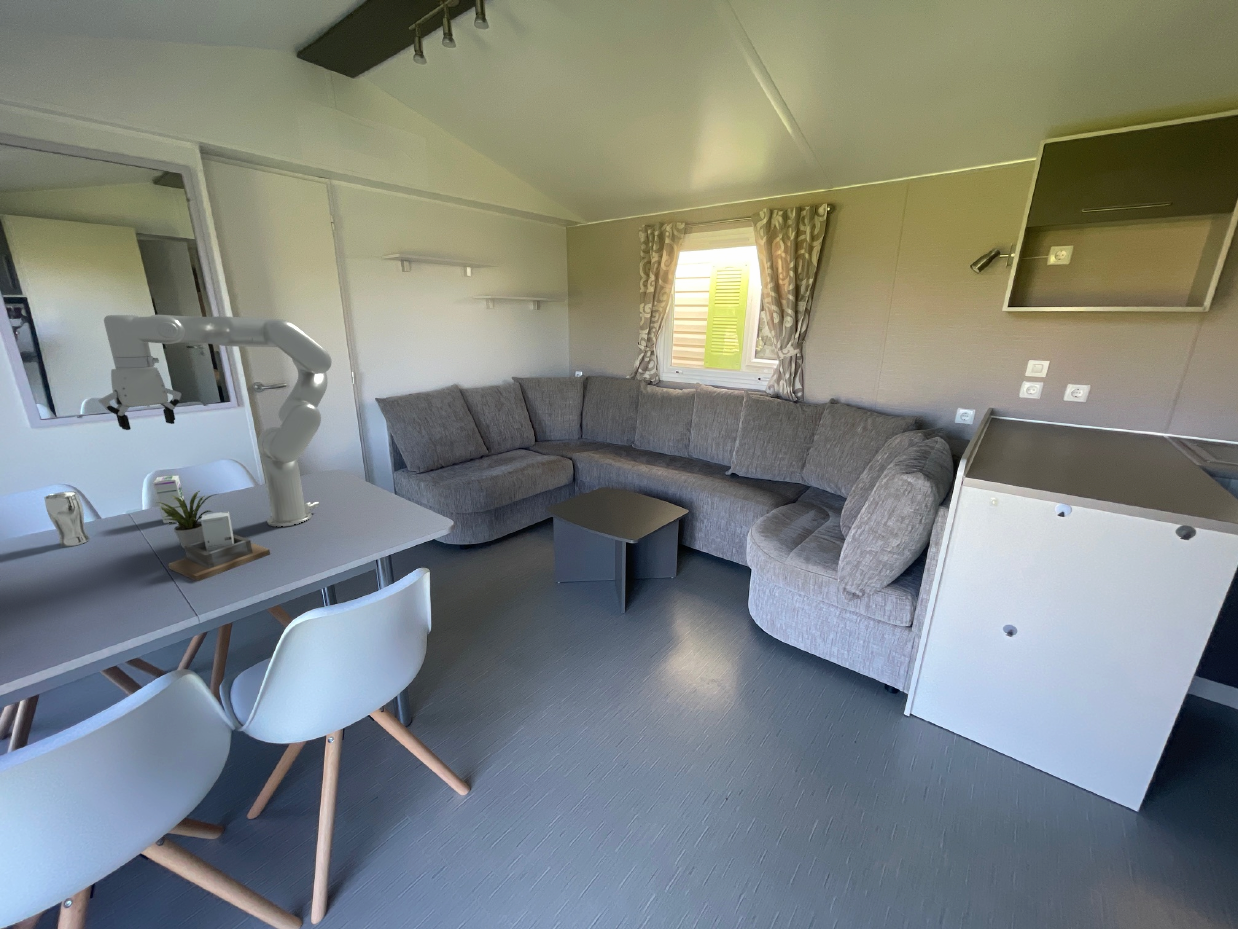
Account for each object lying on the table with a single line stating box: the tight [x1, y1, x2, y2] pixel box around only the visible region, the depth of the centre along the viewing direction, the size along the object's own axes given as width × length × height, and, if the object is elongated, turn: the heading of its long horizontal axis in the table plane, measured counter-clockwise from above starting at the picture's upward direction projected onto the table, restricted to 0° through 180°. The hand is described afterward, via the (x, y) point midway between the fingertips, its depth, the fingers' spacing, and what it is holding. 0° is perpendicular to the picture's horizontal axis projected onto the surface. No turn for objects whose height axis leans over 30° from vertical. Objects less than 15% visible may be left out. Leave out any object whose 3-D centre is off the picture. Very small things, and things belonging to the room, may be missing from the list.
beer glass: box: [43, 491, 91, 548], centre depth 146 cm, size 7×7×15 cm
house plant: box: [156, 490, 218, 550], centre depth 148 cm, size 14×14×16 cm
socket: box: [168, 533, 271, 582], centre depth 139 cm, size 18×14×6 cm
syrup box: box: [152, 474, 186, 524], centre depth 165 cm, size 6×6×14 cm
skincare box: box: [200, 511, 234, 552], centre depth 138 cm, size 6×4×12 cm
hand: (149, 426), depth 138 cm, fingers open, 9 cm apart
